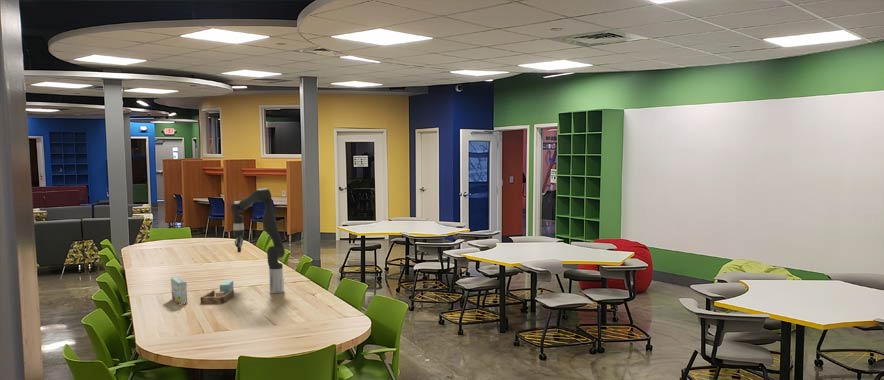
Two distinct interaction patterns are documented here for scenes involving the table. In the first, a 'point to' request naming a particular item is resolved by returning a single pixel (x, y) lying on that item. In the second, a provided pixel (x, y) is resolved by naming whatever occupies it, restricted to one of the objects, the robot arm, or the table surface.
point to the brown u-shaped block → (211, 299)
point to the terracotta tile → (220, 293)
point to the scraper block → (226, 286)
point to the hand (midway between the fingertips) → (239, 252)
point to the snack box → (179, 290)
